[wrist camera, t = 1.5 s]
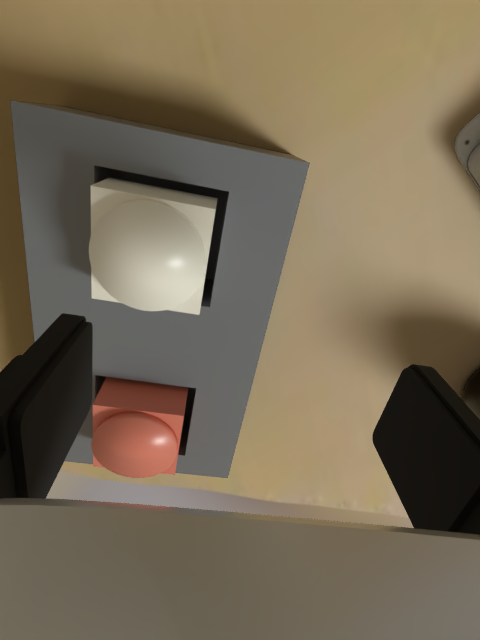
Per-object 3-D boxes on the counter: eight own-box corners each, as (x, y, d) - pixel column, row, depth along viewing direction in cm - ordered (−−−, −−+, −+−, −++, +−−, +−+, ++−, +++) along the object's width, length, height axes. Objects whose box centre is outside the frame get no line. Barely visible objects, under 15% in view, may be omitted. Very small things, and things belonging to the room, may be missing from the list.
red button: (106, 376, 23) (89, 412, 20) (188, 387, 23) (182, 423, 20) (105, 434, 25) (89, 474, 22) (179, 443, 26) (173, 482, 23)
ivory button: (109, 177, 17) (85, 187, 14) (217, 198, 17) (215, 212, 15) (107, 278, 19) (87, 303, 17) (202, 293, 20) (198, 320, 17)
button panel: (60, 105, 19) (10, 100, 15) (292, 154, 21) (309, 163, 16) (73, 409, 30) (46, 459, 25) (228, 428, 31) (227, 478, 27)
